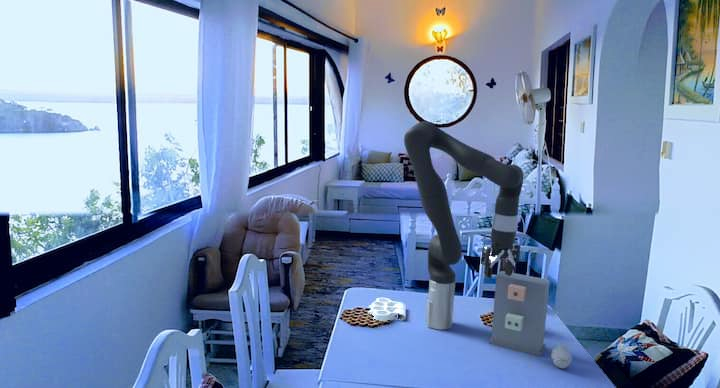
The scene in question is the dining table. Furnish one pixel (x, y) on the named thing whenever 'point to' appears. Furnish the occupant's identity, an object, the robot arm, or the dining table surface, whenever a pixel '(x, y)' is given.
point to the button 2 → (514, 322)
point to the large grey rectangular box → (520, 314)
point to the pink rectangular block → (516, 292)
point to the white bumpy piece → (387, 309)
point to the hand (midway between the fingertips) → (498, 276)
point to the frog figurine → (561, 356)
